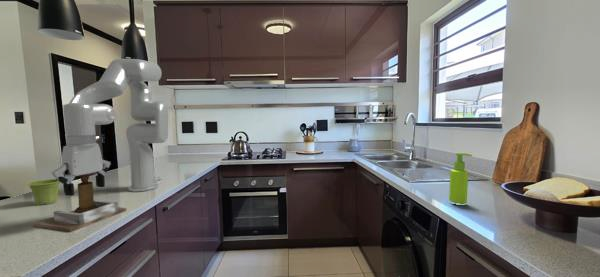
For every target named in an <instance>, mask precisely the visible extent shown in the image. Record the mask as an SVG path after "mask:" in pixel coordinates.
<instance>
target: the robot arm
mask: <svg viewBox="0 0 600 277" xmlns="http://www.w3.org/2000/svg"><path fill="white" fill-rule="evenodd" d="M161 78H162V69H161V67H160V66H159V64H157V63H155V62H152V61H150V60H149V61H148V60H144V59H138V58H116V59H113V60H112V61H111V62H110V63H109V64H108V66H107V67H106V69H105V71H104V72H103V74H102V76H101V77H100V79H99V80H98V81H96V82H94V83H92V84H90V85H88V86H86V87H85V88H82V89H81V90H79V91H78V92H76V93H75V95H73V97H72V99H71V100H70V101H69V103H66V104H64V106H63V119H64V120H63V121H64V130H65V142H66V145H65V146H64V145H63V147H62V153H61V166H60V167H58V168H57V169H55V170H53V171H52V172H51V175H52V176H53V177H54V179H56V180H58V181H59V182H60V183H61V184H62V185H63V193H64V196H69V197H72V196H75V186H74V183H73V181H74V179H75V178H76V177H81V175H86V174H87V175H89V174H96V175H95V185H96V187H97V188H105V186H106V185H105V184H106V179H105V177H106V176H107V173H108V171H109V170H110V169H109V168H110V166H111V165H112V164H111V161H109V160H105V159H103V157H102V156H103V155H102V152H101V147H100V145H99V143H97V141H98V140H99V139H100V136H99V135H96V126H97V125H99V126H102V125H109V124H112V123H113V122H114V121H115V120H116V118H117V112H116V109H115V108H114V107H113V106H111V105H109V104H105V103H102V102H104V101H107V100H111V99H115V98H117V97H120V96H122V95H123V93H124V92H125V90H126V88H127V86H128V88H129V90H130V116H131V118H132V119H133V120H134V121H139V122H155V123H133V124H130V125H129V126H128V127H127V128H126V130H125V135H126V136H125V137H126V139H127V144H128V151H129V163H130V164H129V165H130V177H131V178H130V179H131V183H130V184H131V185H129V186H127V190H128V192H136V193H137V192H146V191H150V190H151V191H152V190H154V189H156V188H158V187H159V184H158V183H157V182H159V181H162V180H163V178H162V176H157V177H156V176H155V165H154V151H153V149H152V147H151V146H150V145H149V144H163V143H165V142H167V140H168V137H169V110H168V107H167V104H166V103H165V102H163V101H158V100H156V101H155V100H152V99H153V98H152V96H153V95H152V91H151V88H150V87H149V86H148V85H147V84H146V83H145V82H158V81H160V80H161Z"/></svg>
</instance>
